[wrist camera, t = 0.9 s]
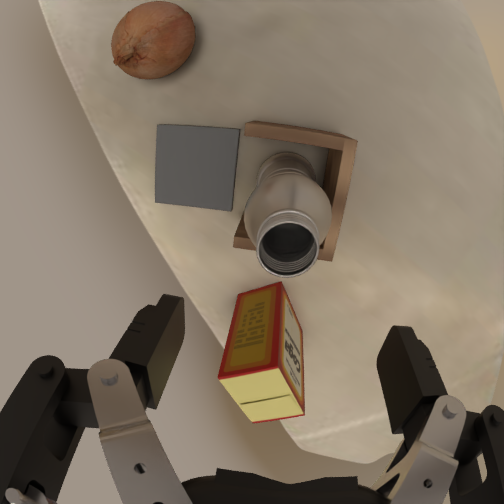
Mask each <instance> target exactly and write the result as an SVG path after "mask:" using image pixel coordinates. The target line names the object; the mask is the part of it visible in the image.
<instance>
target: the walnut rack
mask: <svg viewBox="0 0 504 504" xmlns="http://www.w3.org/2000/svg"><path fill="white" fill-rule="evenodd" d="M244 136H251V137H259V138H267V139H275V140H282V141H289V142H296V143H302V144H308V145H314V146H320V147H326V148H329V153H328V159H327V165H326V171H325V176H324V182H323V188H322V189H323V191H324V192H325V193H326V195H327V197H328V199H329V201H330V205H331V209H332V219H331V225H330V228H329V231H328V233H327V236H326V237H325V239H324V241H323V242H322V243H321V245H320V246H319V247H320V248H319V254H318V257H317V259H318V260H325V261H332V259H333V255H334V251H335V247H336V243H337V239H338V235H339V231H340V226H341V222H342V218H343V213H344V208H345V204H346V199H347V194H348V190H349V185H350V180H351V174H352V169H353V164H354V159H355V153H356V147H357V142H358V141H357V140H354V139H352V138H350V137H347V136H345V135H342V134H337V133H332V132H327V131H322V130H316V129H310V128H304V127H298V126H291V125H284V124H277V123H269V122H261V121H251V122H247V123H246V124H245V133H244ZM233 247H234V248H241V249H248V250H255V251H256V247H255V246H254V244H253V243H252V241H251V240H250V238H249V236H248V234H247V231H246V229H245V223H244V213H243V215H242V218H241V220H240V223H239V225H238V228H237V231H236V233H235V236H234V244H233Z"/></svg>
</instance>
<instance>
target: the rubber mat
mask: <svg viewBox="0 0 504 504" xmlns="http://www.w3.org/2000/svg"><path fill="white" fill-rule="evenodd" d="M239 135H240V129H231V128H219V127H206V126H188V125H157V138H156V164H155V203H164V204H173V205H182V206H191V207H199V208H207V209H215V210H223V211H232V207H233V196H234V185H235V175H236V165H237V155H238V145H239Z"/></svg>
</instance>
